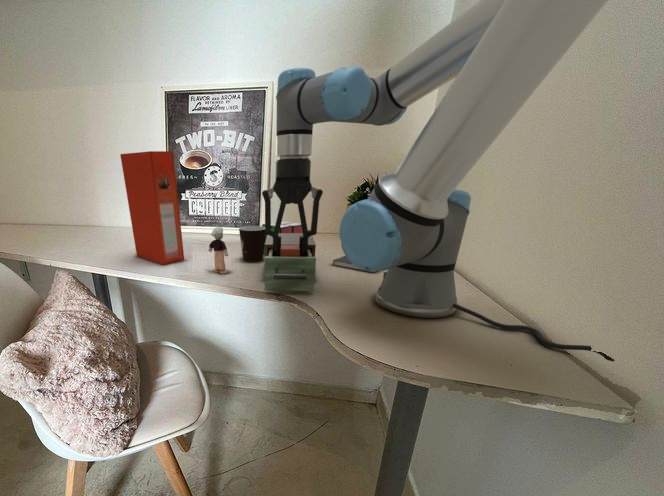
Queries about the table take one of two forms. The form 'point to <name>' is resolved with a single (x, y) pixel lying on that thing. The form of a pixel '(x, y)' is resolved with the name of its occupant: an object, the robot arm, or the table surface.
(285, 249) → the block
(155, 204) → the file binder
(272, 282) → the drawer
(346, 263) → the notebook
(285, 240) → the cabinet
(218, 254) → the grandmother figurine
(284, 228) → the puzzle cube
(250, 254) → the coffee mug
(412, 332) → the table surface
